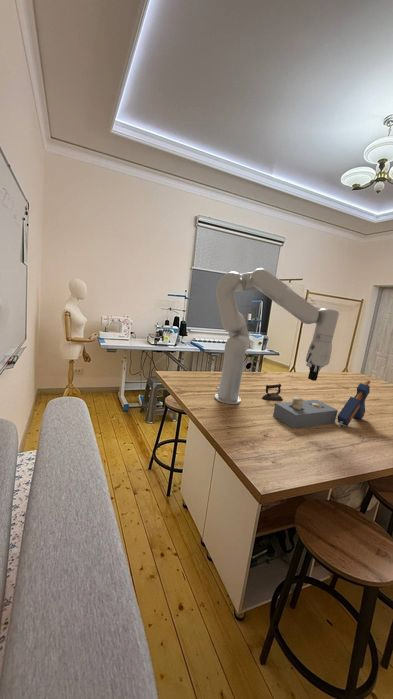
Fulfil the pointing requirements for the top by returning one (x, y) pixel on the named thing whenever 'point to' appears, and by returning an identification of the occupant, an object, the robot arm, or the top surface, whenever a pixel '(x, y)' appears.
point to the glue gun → (354, 405)
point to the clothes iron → (272, 395)
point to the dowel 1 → (297, 403)
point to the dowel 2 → (316, 405)
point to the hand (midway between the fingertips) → (312, 379)
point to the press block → (305, 414)
